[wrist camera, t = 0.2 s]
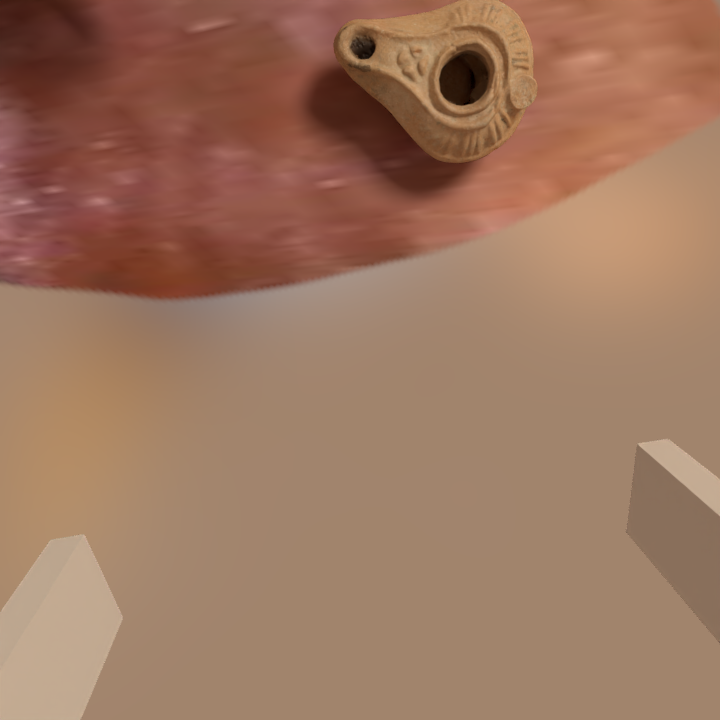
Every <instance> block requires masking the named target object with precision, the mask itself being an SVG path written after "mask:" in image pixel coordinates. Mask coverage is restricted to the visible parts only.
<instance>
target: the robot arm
mask: <svg viewBox="0 0 720 720" xmlns="http://www.w3.org/2000/svg"><path fill="white" fill-rule="evenodd" d="M627 534H628V535H629V536H630V537H631V539H632V540H633V541H634V542H635V543H636V544H637V546H638V547H639V548H640V549H641V550H642V552H643V553H644V554H645V555H646V556H647V557H648V559H649V560H650V561H651V562H652V563H653V565H654V566H655V567H656V568H657V569H658V570H659V572H660V573H661V574H662V575H663V577H664V578H665V579H666V580H667V581H668V582H669V584H670V585H671V586H672V587H673V588H674V590H675V591H676V592H677V593H678V594H679V595H680V597H681V598H682V599H683V600H684V601H685V603H686V604H687V605H688V606H689V607H690V608H691V610H692V611H693V612H694V613H695V614H696V616H697V617H698V618H699V619H700V620H701V622H702V623H703V624H704V625H705V626H706V628H707V629H708V630H709V631H710V632H711V633H712V635H713V636H714V637H715V638H716V639H717V640H718V642H719V643H720V479H719V478H717V477H716V476H715V475H714V474H712V473H711V472H710V471H709V470H707V469H706V468H705V467H703V466H702V465H701V464H699V463H698V462H697V461H696V460H694V459H693V458H692V457H691V456H689V455H688V454H687V453H686V452H684V451H683V450H682V449H680V448H679V447H677V445H675V444H674V443H672V442H671V441H670V440H669V439H664V440H658V441H652V442H645V443H640V444H637V449H636V457H635V466H634V474H633V482H632V490H631V498H630V507H629V515H628V523H627ZM122 619H123V617H122V615H121V612H120V610H119V608H118V606H117V604H116V602H115V600H114V597H113V595H112V593H111V591H110V589H109V587H108V584H107V583H106V580H105V578H104V576H103V574H102V572H101V569H100V567H99V565H98V563H97V561H96V559H95V557H94V554H93V552H92V550H91V548H90V546H89V544H88V541H87V539H86V537H85V535H84V534H83V535H77V536H71V537H65V538H59V539H53V540H50V541H49V543H48V544H47V546H46V547H45V549H44V550H43V551H42V553H41V554H40V556H39V557H38V559H37V560H36V562H35V563H34V564H33V566H32V567H31V569H30V570H29V572H28V573H27V574H26V576H25V577H24V579H23V580H22V582H21V583H20V585H19V586H18V587H17V589H16V590H15V592H14V593H13V595H12V596H11V598H10V599H9V600H8V602H7V603H6V605H5V606H4V608H3V609H2V611H1V612H0V720H81V717H82V715H83V712H84V710H85V707H86V705H87V703H88V701H89V698H90V696H91V693H92V691H93V689H94V686H95V683H96V681H97V679H98V677H99V674H100V672H101V669H102V667H103V665H104V662H105V660H106V657H107V655H108V653H109V650H110V648H111V645H112V643H113V641H114V638H115V636H116V633H117V631H118V629H119V626H120V624H121V621H122Z"/></svg>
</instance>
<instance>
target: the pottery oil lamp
mask: <svg viewBox="0 0 720 720" xmlns="http://www.w3.org/2000/svg"><path fill="white" fill-rule="evenodd" d="M334 53H335V55H336V58H337V60H338V62H339V63H340V65H341V66H342V67H343V69H344V70H345V71H346V72H347V74H348V75H349V76H350V77H351V78H352V80H354V81H355V82H356V83H357V84H358V85H360V86H361V87H362V88H363V89H364V90H365V91H366V92H367V93H369V94H370V95H371V96H372V97H374V98H375V99H376V100H378V101H379V102H380V103H381V104H382V105H383V106H384V107H385V108H387V109H388V111H389V112H390V113H392V115H393V116H394V117H395V119H396V120H397V121H398V122H399V123H400V125H401V126H402V127H403V128H404V129H405V130H406V132H407V133H408V134H409V135H410V136H411V138H412V139H413V140H414V141H415V142H416V143H417V144H418V145H419V146H420V147H421V148H422V149H423V150H424V151H425V152H426V153H427V154H429V155H430V156H431V157H433V158H435V159H436V160H439V161H443V162H450V163H464V162H470V161H474V160H477V159H480V158H482V157H484V156H486V155H488V154H490V153H491V152H492V151H493V150H495V149H497V148H499V147H500V146H501V145H502V144H504V142H506V140H507V139H508V138H509V137H511V135H512V134H513V133H514V132H515V130H516V128H517V126H518V124H519V123H520V120H521V118H522V116H523V114H524V112H525V110H526V108H527V107H528V106H530V105H531V104H532V102H533V101H534V100H535V98H536V95H537V83H536V81H535V79H534V78H533V48H532V43H531V40H530V37H529V35H528V32H527V30H526V28H525V26H524V24H523V23H522V21H521V18H520V17H519V15H518V14H517V13H516V12H515V11H514V10H513V9H511V8H510V7H509V6H507V5H506V4H504V3H503V2H501V1H498V0H460V1H457V2H454V3H452V4H449V5H446V6H444V7H442V8H439V9H436V10H433V11H430V12H425V13H420V14H414V15H408V16H403V17H394V18H385V19H356V20H352V21H349V22H348V23H346V24H345V25H344V26H343V27H342V28H341V29H340V30H339V32H338V33H337V35H336V37H335V39H334ZM469 68H471V70H470V69H469ZM471 71H473V74H474V76H475V77H474V78H475V88H473V89H472V91H473V92H471V95H470V90H471V89H470V88H471V79H470V73H471ZM469 96H470V97H469ZM472 96H473V97H472ZM469 98H471V99H470V101H471V102H470V104H468V105H464V106H463V104H464V102H467V101H468V100H469Z"/></svg>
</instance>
